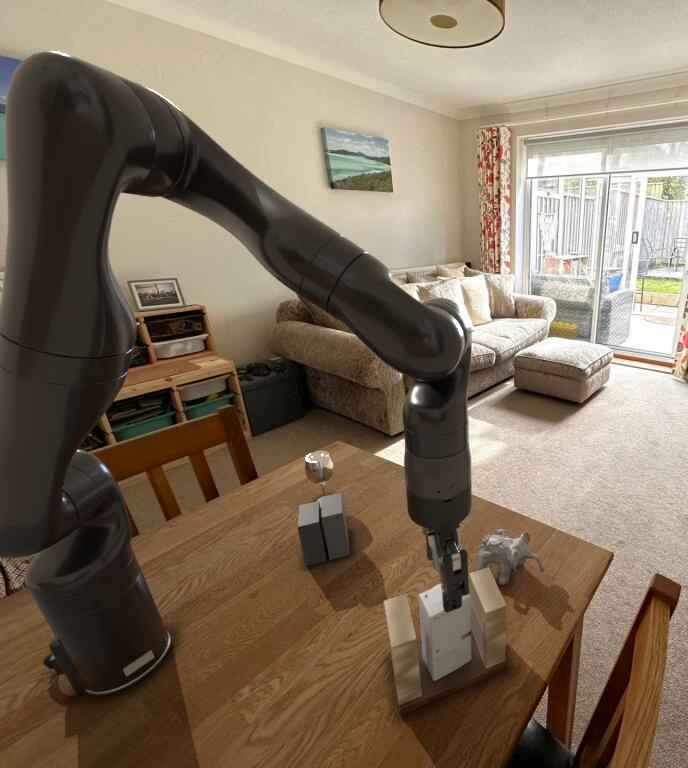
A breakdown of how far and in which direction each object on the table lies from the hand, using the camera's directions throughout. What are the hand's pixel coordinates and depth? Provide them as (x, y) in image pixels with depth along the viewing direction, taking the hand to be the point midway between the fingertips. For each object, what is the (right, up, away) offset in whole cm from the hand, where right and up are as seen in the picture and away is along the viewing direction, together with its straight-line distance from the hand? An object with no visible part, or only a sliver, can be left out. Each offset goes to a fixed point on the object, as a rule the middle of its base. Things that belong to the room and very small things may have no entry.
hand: (443, 581), depth 52 cm
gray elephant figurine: (+9, -9, +22) cm, 25 cm away
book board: (0, -15, +6) cm, 16 cm away
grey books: (-27, -6, +26) cm, 38 cm away
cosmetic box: (0, -14, +6) cm, 15 cm away
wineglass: (-33, -1, +39) cm, 51 cm away
